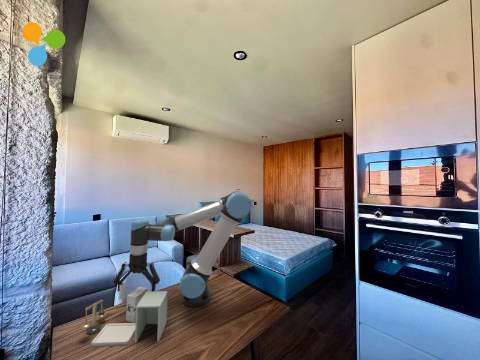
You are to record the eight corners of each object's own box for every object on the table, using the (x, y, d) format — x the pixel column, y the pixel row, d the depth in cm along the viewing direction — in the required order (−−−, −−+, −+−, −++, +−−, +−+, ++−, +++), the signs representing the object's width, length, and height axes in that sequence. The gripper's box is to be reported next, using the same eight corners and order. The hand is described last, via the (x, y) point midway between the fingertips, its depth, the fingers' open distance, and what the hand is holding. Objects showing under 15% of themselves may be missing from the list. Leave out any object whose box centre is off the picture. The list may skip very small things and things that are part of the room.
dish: (138, 326, 89) (139, 322, 89) (127, 345, 79) (127, 341, 79) (106, 327, 88) (106, 323, 88) (90, 346, 77) (91, 342, 78)
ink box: (138, 310, 100) (139, 286, 100) (147, 311, 99) (148, 287, 99) (125, 321, 92) (126, 295, 92) (134, 323, 91) (135, 296, 91)
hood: (166, 322, 92) (167, 291, 92) (158, 341, 81) (159, 306, 81) (145, 323, 91) (146, 291, 91) (134, 342, 80) (136, 306, 80)
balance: (88, 343, 79) (89, 311, 79) (75, 343, 78) (76, 311, 79) (109, 318, 93) (110, 291, 93) (98, 319, 93) (99, 291, 93)
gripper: (167, 250, 101) (165, 293, 100) (115, 249, 99) (112, 293, 98) (163, 256, 93) (161, 302, 93) (106, 255, 91) (103, 302, 91)
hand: (136, 298), depth 96 cm, fingers open, 13 cm apart
